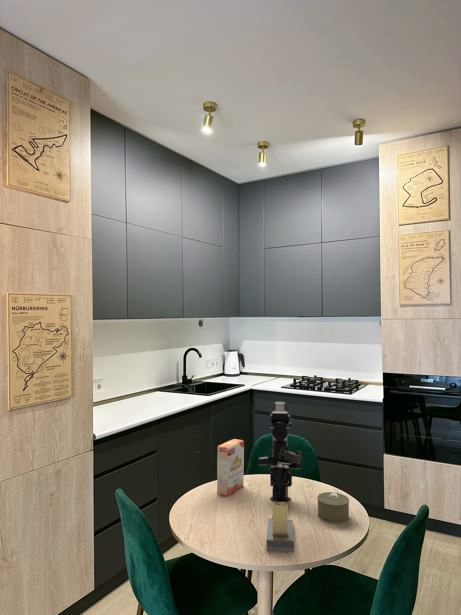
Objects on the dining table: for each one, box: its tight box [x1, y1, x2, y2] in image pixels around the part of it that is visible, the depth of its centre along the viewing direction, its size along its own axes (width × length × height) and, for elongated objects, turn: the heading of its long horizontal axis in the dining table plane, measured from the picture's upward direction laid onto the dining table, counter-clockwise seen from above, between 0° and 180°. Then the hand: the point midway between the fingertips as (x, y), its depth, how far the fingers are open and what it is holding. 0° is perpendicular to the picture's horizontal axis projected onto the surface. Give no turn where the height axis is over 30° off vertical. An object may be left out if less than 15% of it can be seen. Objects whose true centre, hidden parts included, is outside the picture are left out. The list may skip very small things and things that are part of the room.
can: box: [316, 491, 350, 524], centre depth 169 cm, size 12×12×7 cm
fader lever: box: [271, 500, 289, 540], centre depth 147 cm, size 5×6×12 cm
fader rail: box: [265, 518, 295, 554], centre depth 153 cm, size 20×9×4 cm, turn 173°
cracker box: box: [216, 438, 245, 497], centre depth 195 cm, size 14×6×21 cm, turn 148°
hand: (280, 487), depth 163 cm, fingers closed
